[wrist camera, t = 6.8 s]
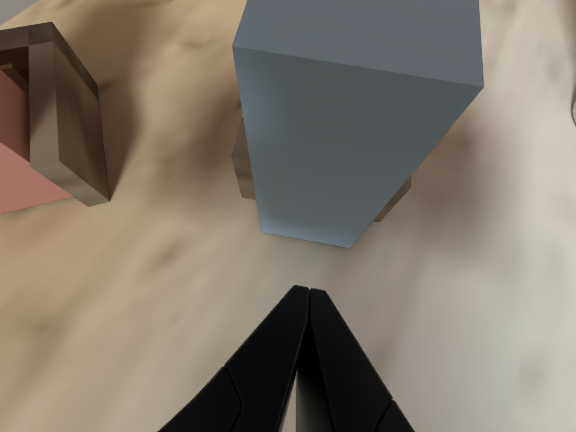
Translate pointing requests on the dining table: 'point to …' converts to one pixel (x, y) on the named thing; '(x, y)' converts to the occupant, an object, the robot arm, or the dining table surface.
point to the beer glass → (574, 111)
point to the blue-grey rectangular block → (348, 103)
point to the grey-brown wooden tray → (58, 110)
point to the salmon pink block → (19, 154)
